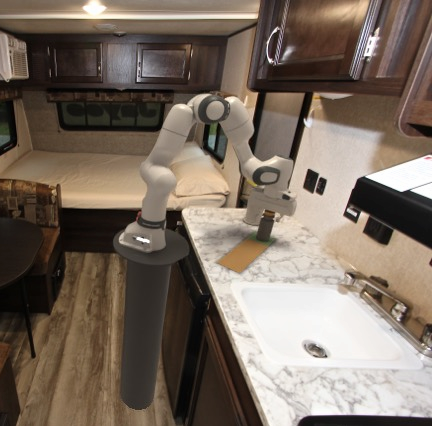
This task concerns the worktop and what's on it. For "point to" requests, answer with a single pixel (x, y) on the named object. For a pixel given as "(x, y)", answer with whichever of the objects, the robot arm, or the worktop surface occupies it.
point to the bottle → (265, 226)
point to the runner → (242, 255)
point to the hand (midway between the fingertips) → (267, 218)
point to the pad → (253, 237)
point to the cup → (253, 215)
